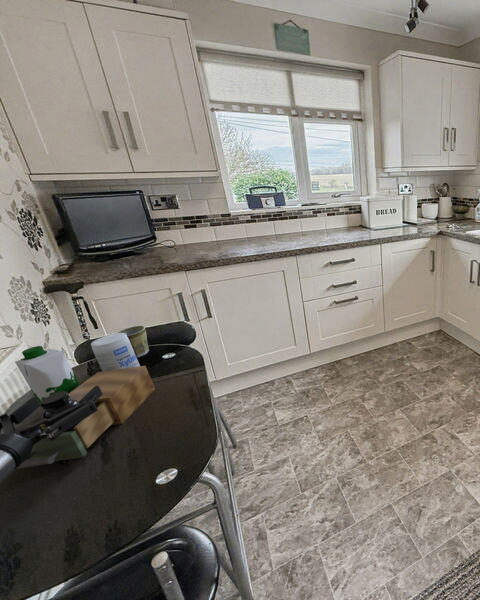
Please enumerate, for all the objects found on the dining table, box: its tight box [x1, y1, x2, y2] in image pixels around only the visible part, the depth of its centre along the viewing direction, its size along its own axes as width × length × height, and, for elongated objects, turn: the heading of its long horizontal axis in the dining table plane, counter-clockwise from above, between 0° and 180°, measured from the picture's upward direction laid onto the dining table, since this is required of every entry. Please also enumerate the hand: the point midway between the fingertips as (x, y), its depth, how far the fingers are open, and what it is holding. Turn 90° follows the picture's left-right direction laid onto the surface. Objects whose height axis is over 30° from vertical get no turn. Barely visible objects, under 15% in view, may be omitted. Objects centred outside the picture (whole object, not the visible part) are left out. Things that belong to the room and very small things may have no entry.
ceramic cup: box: [114, 325, 150, 359], centre depth 127 cm, size 13×10×10 cm
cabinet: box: [68, 365, 156, 427], centre depth 94 cm, size 16×14×9 cm
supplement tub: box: [90, 332, 141, 372], centre depth 110 cm, size 10×10×15 cm
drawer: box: [16, 401, 116, 470], centre depth 81 cm, size 19×13×7 cm, turn 7°
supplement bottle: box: [40, 392, 81, 432], centre depth 81 cm, size 7×7×12 cm
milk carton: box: [14, 345, 81, 406], centre depth 95 cm, size 9×9×20 cm
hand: (68, 395), depth 83 cm, fingers open, 13 cm apart
